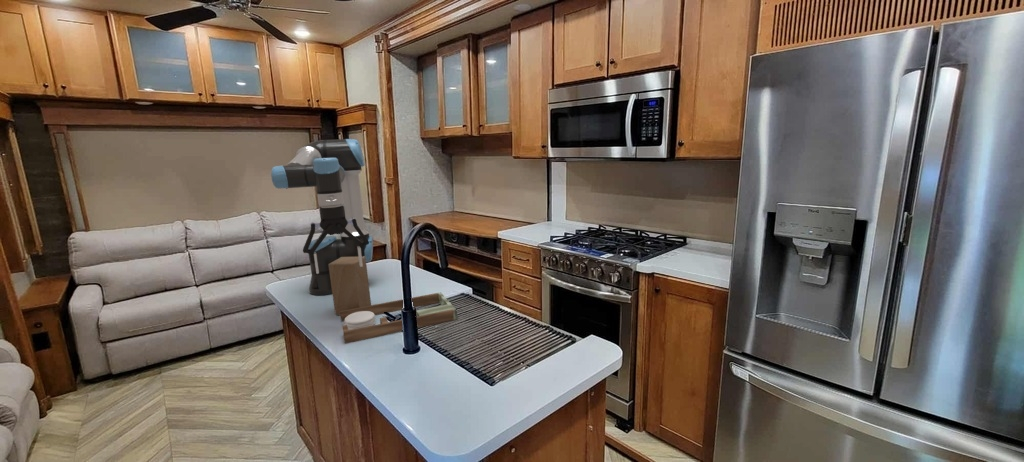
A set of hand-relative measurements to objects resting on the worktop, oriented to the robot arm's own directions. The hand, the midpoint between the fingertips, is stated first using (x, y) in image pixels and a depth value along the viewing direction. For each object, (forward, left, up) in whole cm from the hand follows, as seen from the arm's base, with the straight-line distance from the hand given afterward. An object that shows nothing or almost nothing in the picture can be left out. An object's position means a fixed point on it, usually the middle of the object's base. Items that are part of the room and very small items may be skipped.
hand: (339, 269), depth 142 cm
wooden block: (-17, +3, -22) cm, 28 cm away
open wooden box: (+2, +16, -21) cm, 27 cm away
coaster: (-1, +4, -22) cm, 22 cm away
